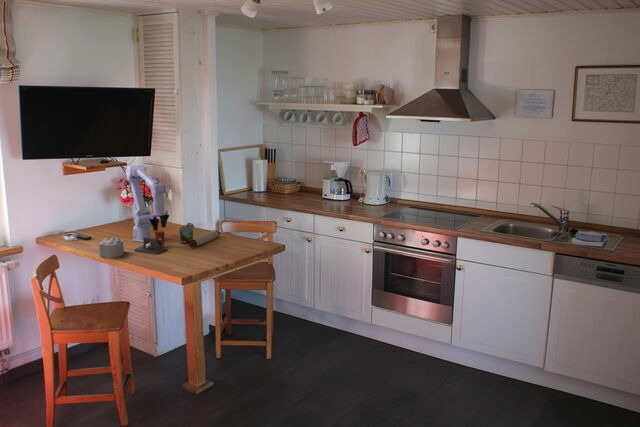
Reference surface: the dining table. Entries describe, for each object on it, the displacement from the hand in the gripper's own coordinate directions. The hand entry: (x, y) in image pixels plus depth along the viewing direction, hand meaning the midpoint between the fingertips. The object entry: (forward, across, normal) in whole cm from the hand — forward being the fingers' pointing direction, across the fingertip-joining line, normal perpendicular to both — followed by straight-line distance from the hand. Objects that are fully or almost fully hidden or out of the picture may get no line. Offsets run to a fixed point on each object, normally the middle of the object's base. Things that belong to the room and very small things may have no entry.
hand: (159, 228), depth 335 cm
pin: (+9, -5, 0) cm, 11 cm away
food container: (+11, +15, -9) cm, 21 cm away
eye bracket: (+10, -8, 0) cm, 13 cm away
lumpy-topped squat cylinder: (+11, -23, +14) cm, 29 cm away
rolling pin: (+11, +19, -18) cm, 28 cm away
